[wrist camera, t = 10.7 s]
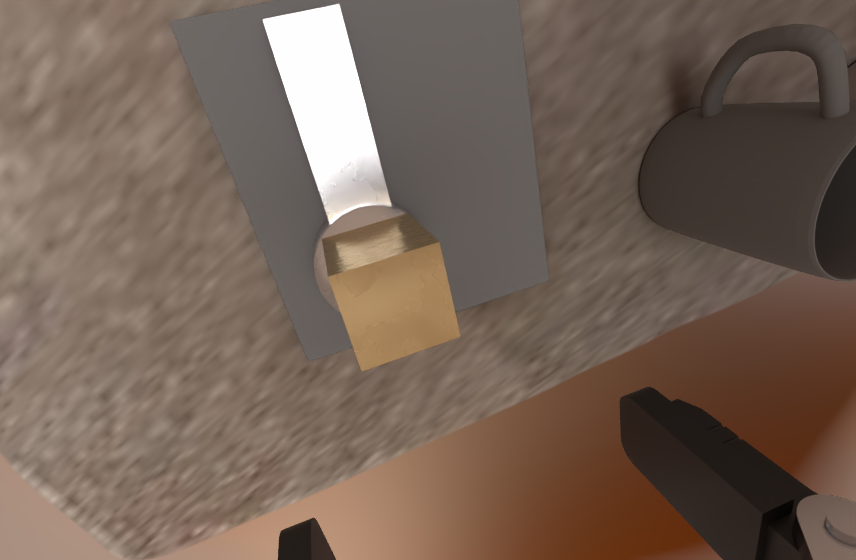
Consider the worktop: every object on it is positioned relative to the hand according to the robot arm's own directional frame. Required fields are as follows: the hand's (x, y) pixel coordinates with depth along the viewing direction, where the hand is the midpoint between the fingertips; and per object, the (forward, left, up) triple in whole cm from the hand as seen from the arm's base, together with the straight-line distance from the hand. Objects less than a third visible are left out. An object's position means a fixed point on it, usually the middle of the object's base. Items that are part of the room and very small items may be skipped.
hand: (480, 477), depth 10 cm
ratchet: (0, -5, -18) cm, 19 cm away
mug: (-24, -1, -19) cm, 31 cm away
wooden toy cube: (0, 0, -16) cm, 16 cm away
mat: (-3, -4, -19) cm, 20 cm away
